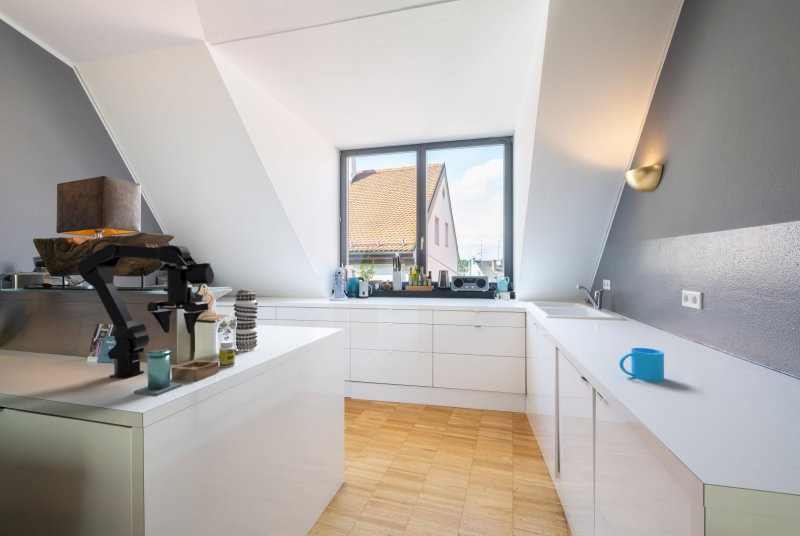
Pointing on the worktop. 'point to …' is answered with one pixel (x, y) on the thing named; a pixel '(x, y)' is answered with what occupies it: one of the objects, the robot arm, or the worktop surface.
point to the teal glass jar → (158, 369)
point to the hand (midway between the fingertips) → (178, 333)
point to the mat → (157, 392)
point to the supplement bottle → (226, 354)
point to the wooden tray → (195, 370)
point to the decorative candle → (245, 319)
